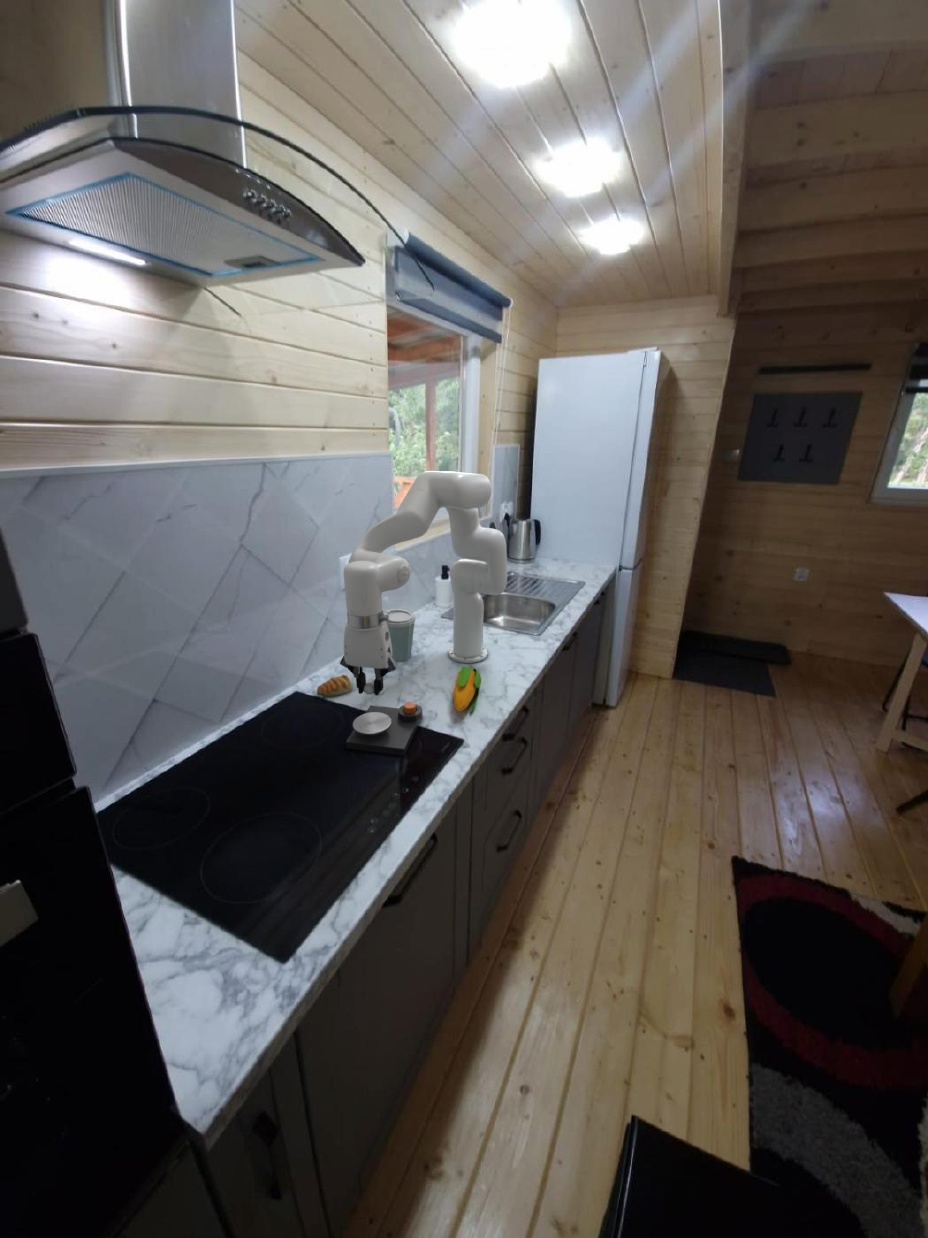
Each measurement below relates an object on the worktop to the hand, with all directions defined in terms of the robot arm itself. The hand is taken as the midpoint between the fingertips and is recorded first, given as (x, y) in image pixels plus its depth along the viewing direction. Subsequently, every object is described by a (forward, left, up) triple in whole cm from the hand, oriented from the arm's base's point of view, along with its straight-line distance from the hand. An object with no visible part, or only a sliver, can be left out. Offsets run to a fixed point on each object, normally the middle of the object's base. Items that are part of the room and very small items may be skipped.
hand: (370, 691), depth 114 cm
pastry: (-18, -18, -13) cm, 28 cm away
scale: (-2, +2, -13) cm, 13 cm away
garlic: (0, 0, 0) cm, 0 cm away
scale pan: (0, 0, -9) cm, 9 cm away
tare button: (-8, +7, -9) cm, 14 cm away
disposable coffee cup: (-42, -7, -13) cm, 45 cm away
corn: (-20, +19, -13) cm, 31 cm away
